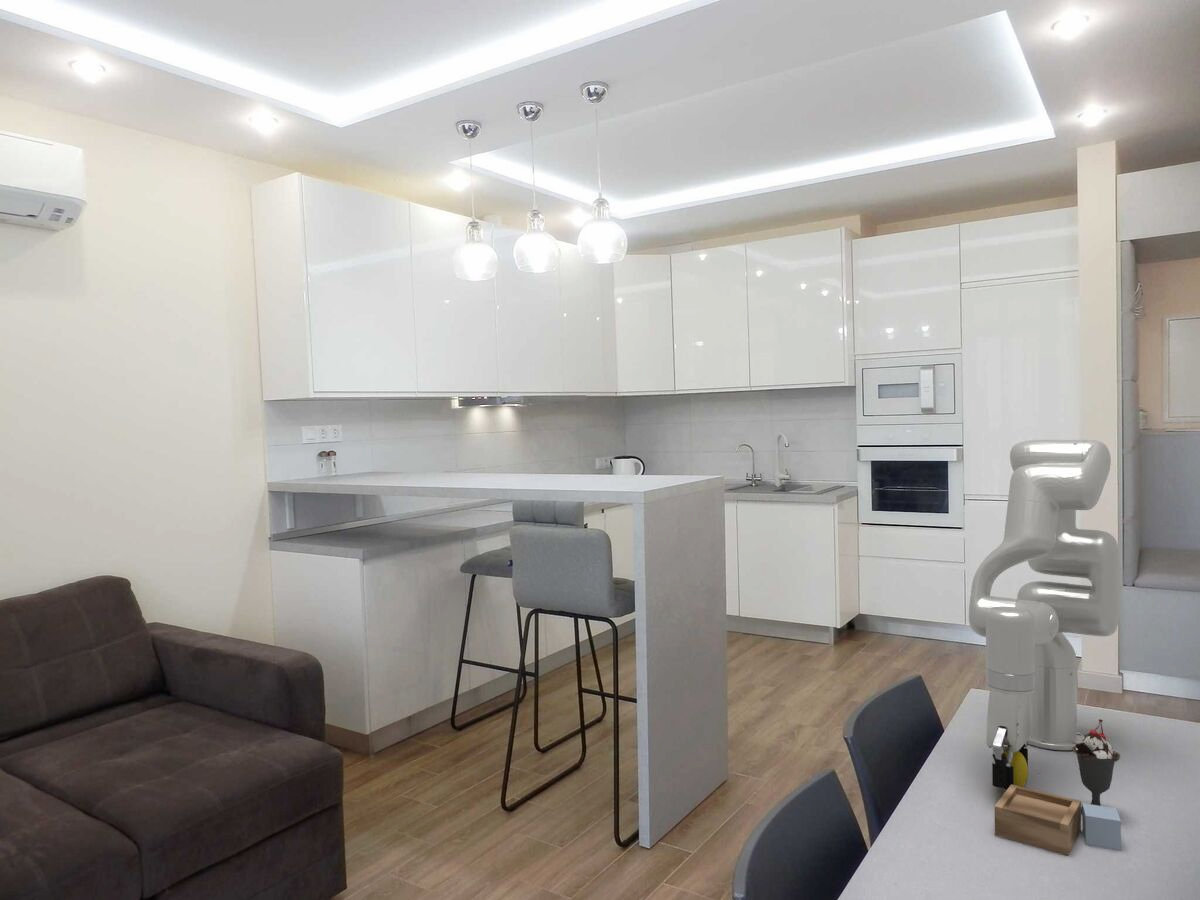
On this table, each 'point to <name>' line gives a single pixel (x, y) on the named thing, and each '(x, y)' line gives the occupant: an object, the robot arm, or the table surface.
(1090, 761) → the sundae
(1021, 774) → the lemon
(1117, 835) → the slate cube
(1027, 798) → the wooden open box
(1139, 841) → the table surface
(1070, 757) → the table surface
